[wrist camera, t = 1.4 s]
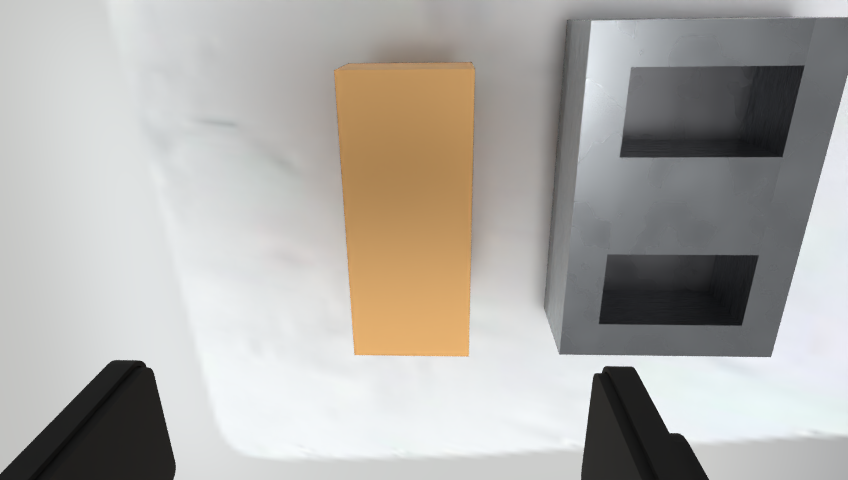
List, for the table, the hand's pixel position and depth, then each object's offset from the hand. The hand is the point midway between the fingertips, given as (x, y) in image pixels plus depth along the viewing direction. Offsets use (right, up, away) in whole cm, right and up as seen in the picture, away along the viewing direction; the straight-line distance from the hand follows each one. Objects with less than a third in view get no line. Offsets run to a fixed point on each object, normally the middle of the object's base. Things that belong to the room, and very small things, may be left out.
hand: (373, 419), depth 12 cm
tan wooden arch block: (+1, +7, +17) cm, 18 cm away
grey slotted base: (+13, +7, +16) cm, 22 cm away
